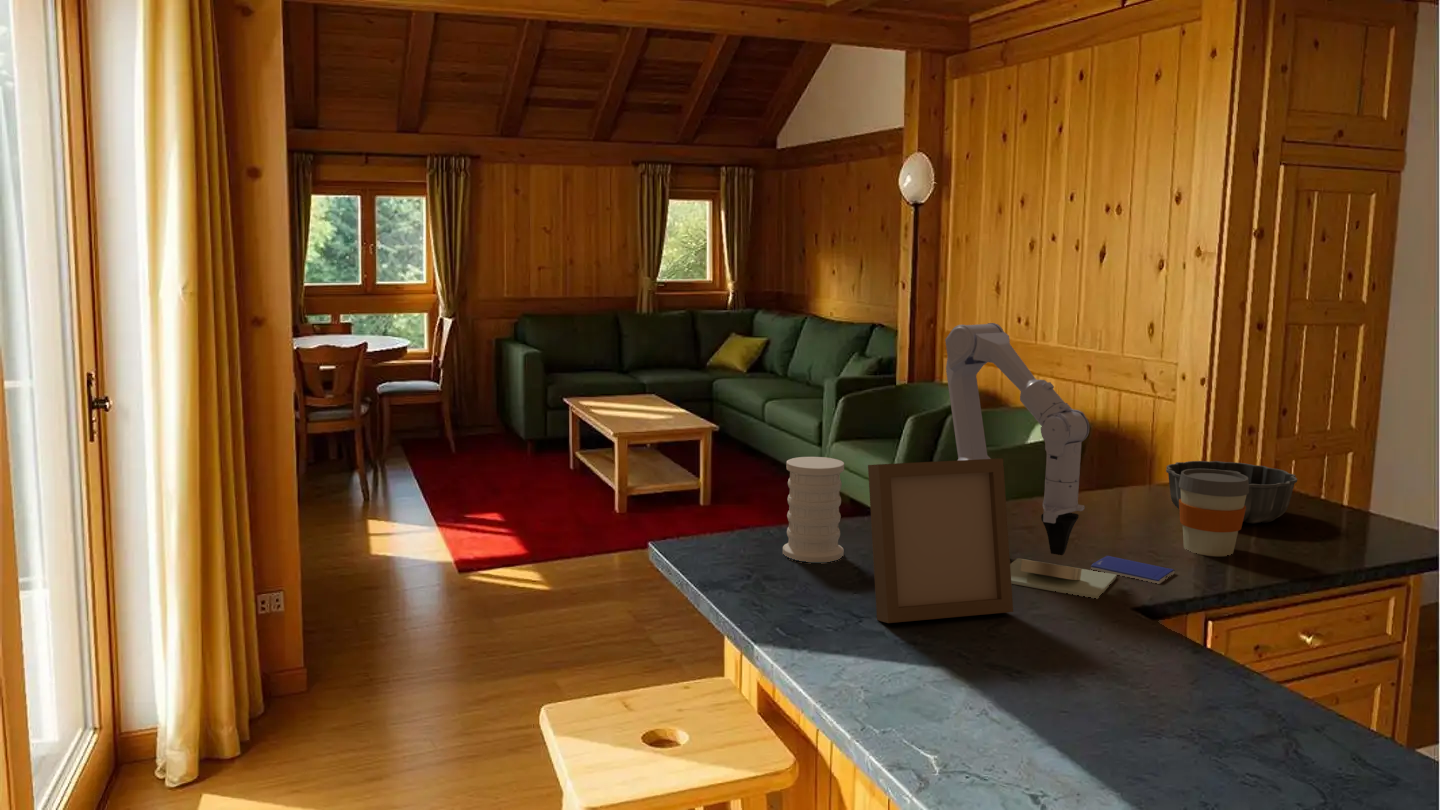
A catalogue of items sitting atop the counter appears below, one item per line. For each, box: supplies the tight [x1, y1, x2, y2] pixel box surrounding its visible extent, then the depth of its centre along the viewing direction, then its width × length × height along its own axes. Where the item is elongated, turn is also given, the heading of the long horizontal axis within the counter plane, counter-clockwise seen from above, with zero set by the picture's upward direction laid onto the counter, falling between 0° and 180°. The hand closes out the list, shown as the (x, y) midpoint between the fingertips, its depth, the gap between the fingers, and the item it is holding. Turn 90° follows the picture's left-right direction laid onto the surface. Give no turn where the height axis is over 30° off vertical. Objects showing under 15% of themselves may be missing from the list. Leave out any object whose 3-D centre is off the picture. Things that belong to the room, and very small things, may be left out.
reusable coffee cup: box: [1178, 469, 1249, 557], centre depth 215 cm, size 13×13×15 cm
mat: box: [1010, 557, 1117, 600], centre depth 196 cm, size 18×14×1 cm
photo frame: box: [867, 458, 1014, 624], centre depth 179 cm, size 15×22×25 cm
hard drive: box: [1090, 555, 1176, 585], centre depth 201 cm, size 2×8×12 cm
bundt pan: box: [1165, 460, 1298, 524], centre depth 243 cm, size 26×26×10 cm
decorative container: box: [782, 456, 845, 562], centre depth 208 cm, size 12×12×18 cm
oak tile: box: [1021, 559, 1083, 580], centre depth 194 cm, size 9×2×6 cm
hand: (1057, 553), depth 196 cm, fingers closed
